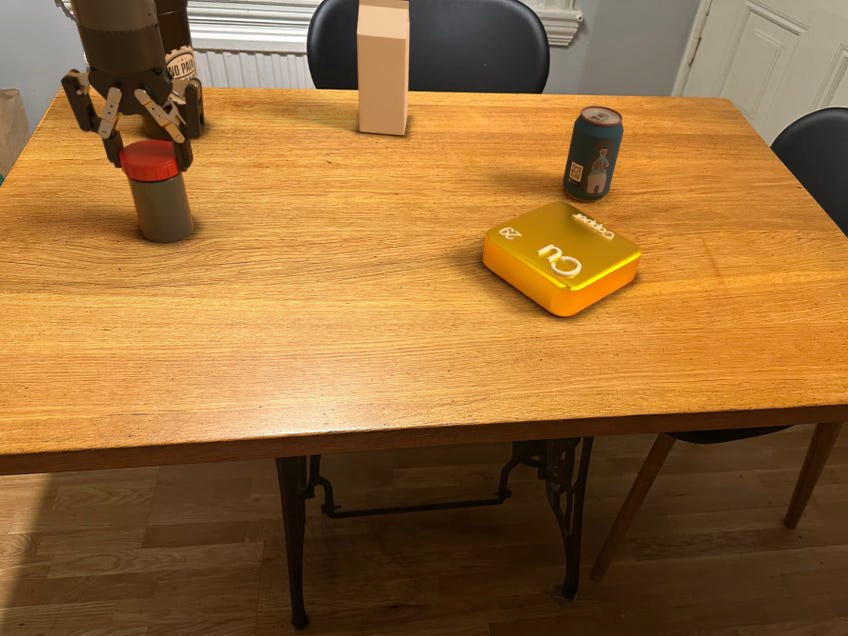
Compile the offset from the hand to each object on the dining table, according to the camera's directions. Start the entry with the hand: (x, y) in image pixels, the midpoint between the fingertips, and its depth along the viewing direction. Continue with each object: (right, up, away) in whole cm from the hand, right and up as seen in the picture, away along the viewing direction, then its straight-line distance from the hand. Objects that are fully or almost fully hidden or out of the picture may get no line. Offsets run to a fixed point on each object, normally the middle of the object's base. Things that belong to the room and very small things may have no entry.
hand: (153, 166), depth 81 cm
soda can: (+54, +2, +23) cm, 58 cm away
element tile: (+48, -11, +8) cm, 50 cm away
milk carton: (+22, +16, +32) cm, 42 cm away
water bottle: (-8, +13, +25) cm, 29 cm away
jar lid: (0, +1, -1) cm, 1 cm away
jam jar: (-1, -6, +6) cm, 8 cm away
